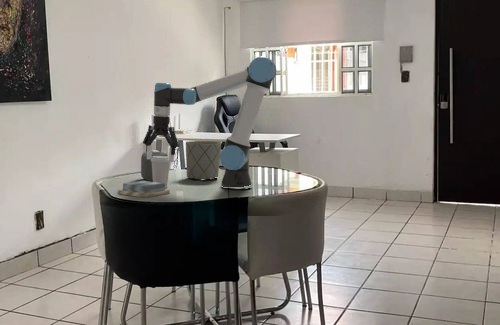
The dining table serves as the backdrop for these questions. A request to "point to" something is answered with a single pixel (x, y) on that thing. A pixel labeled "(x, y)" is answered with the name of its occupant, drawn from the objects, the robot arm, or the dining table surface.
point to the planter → (202, 159)
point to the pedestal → (143, 189)
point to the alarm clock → (149, 165)
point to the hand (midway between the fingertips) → (160, 160)
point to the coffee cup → (160, 169)
